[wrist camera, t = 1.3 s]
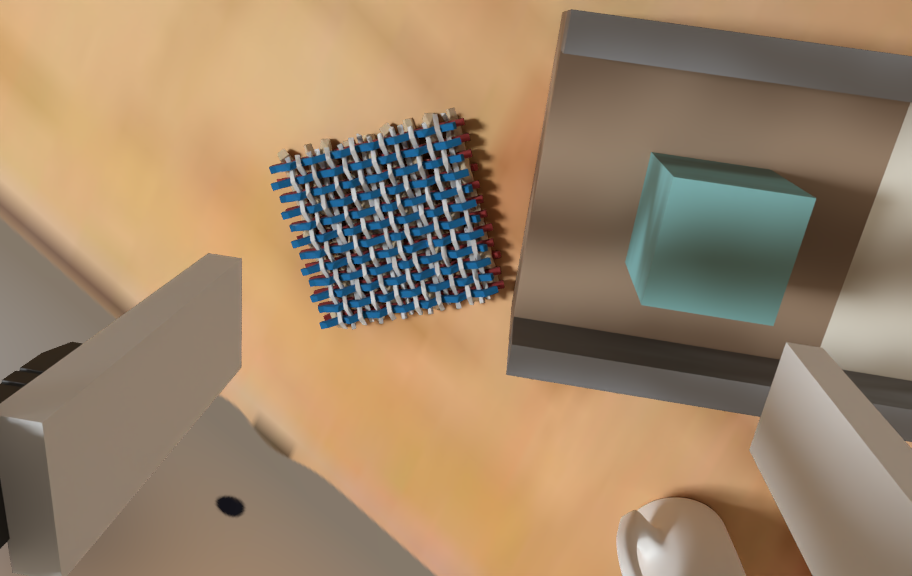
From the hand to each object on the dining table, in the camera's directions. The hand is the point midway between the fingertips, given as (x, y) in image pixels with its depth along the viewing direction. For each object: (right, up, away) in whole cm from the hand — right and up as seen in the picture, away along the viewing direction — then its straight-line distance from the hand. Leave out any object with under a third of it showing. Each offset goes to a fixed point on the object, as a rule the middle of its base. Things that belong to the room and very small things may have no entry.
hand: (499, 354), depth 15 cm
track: (+19, +5, +19) cm, 27 cm away
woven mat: (-4, +5, +22) cm, 23 cm away
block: (+9, +5, +15) cm, 18 cm away
